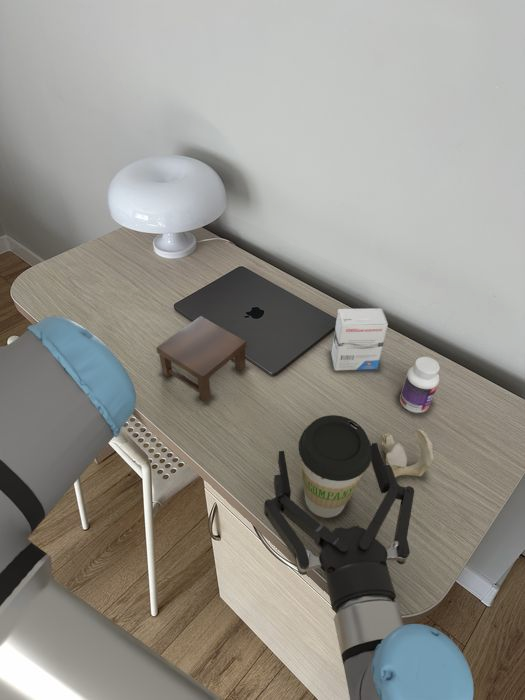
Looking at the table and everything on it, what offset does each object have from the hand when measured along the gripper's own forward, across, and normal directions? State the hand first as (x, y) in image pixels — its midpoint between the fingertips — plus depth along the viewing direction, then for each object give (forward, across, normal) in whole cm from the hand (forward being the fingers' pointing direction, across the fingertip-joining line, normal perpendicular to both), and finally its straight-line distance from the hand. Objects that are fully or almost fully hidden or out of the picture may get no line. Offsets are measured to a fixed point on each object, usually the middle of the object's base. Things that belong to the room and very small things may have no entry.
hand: (327, 452), depth 71 cm
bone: (+1, +12, -8) cm, 15 cm away
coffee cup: (-3, 0, -8) cm, 9 cm away
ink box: (+26, +12, -8) cm, 29 cm away
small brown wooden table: (+26, -18, -8) cm, 33 cm away
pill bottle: (+14, +20, -8) cm, 26 cm away
